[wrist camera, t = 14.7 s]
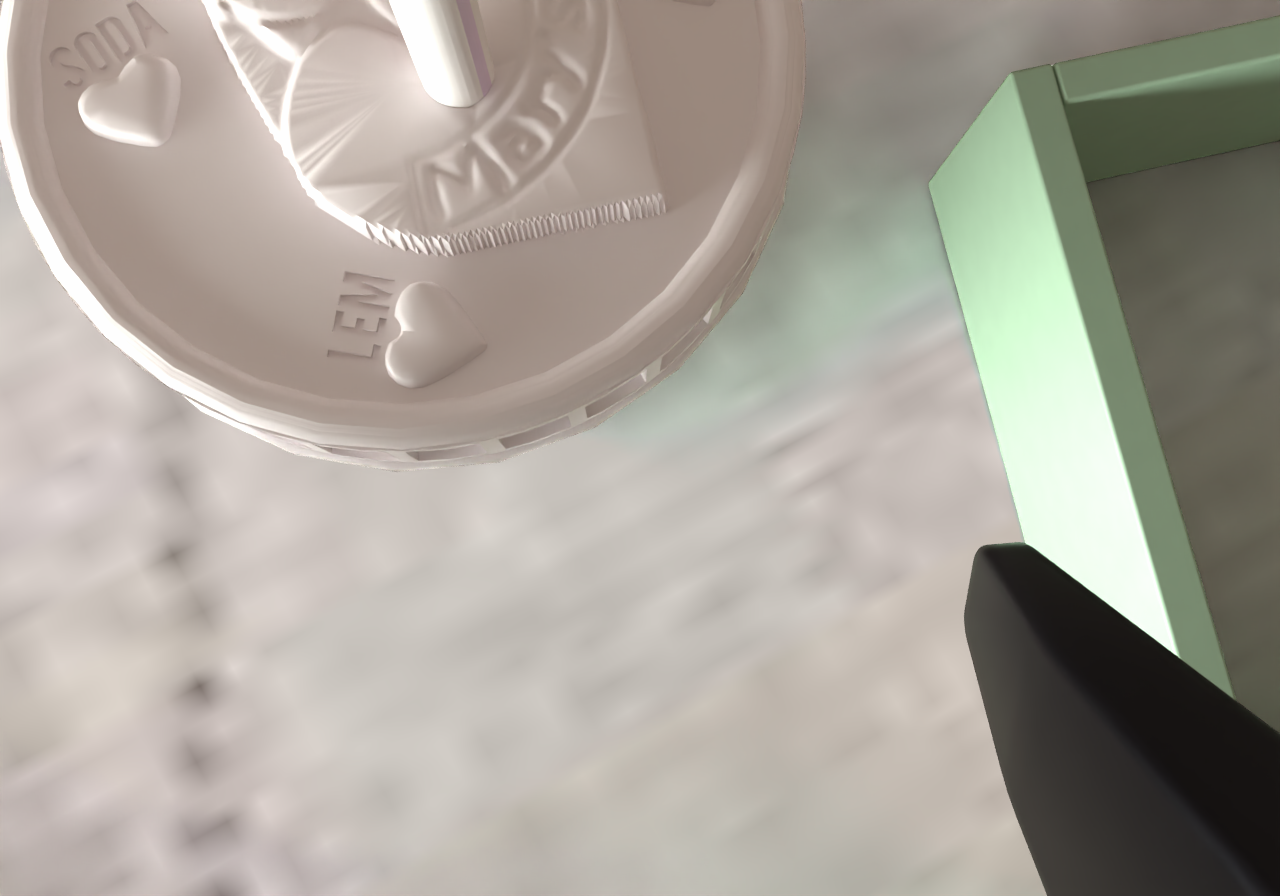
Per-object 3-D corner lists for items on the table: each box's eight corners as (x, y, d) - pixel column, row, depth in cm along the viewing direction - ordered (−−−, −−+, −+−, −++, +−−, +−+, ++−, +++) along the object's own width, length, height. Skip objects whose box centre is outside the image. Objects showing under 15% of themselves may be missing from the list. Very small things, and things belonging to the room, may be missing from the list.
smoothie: (579, 607, 17) (400, 672, 4) (245, 394, 18) (-1090, -296, 4) (788, 276, 18) (1309, -734, 4) (464, 78, 19) (-17, -1439, 5)
